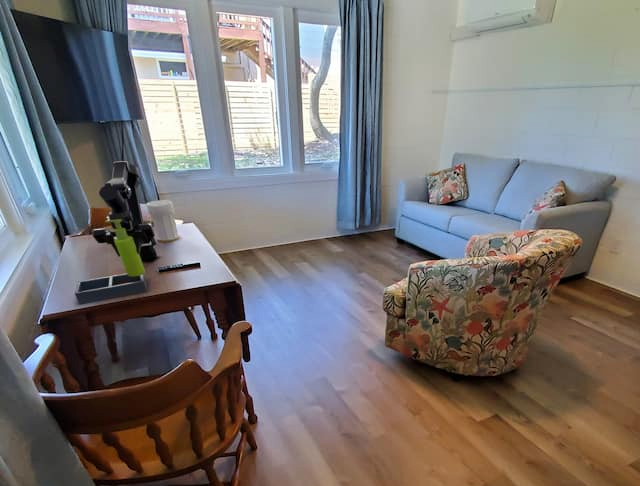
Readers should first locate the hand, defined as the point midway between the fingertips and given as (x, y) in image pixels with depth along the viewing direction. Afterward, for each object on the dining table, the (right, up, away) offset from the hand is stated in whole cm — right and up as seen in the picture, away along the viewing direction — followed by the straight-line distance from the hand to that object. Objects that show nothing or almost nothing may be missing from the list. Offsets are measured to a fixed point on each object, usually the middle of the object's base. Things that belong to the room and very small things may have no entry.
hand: (128, 254), depth 141 cm
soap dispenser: (-1, -6, +5) cm, 8 cm away
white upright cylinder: (-13, +19, +56) cm, 60 cm away
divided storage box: (-8, -13, +5) cm, 16 cm away
